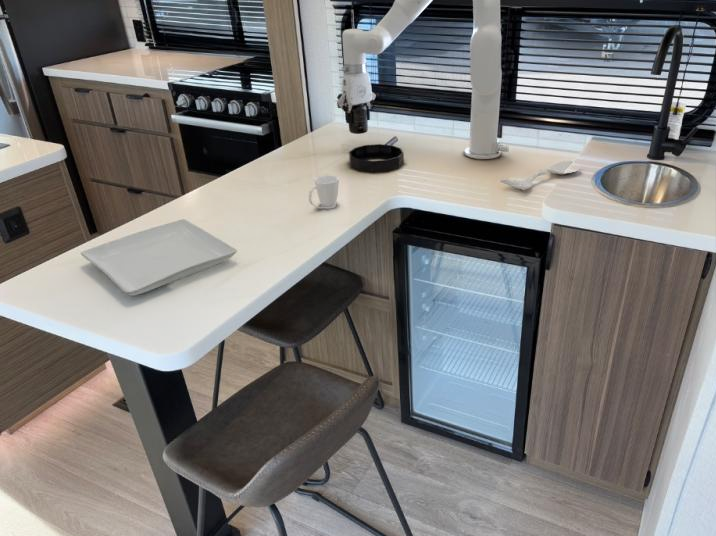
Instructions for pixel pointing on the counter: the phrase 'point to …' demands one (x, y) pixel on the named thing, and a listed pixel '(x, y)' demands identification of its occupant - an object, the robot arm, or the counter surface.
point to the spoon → (556, 168)
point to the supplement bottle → (359, 119)
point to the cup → (326, 191)
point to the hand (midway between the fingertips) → (357, 121)
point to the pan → (377, 157)
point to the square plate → (158, 256)
